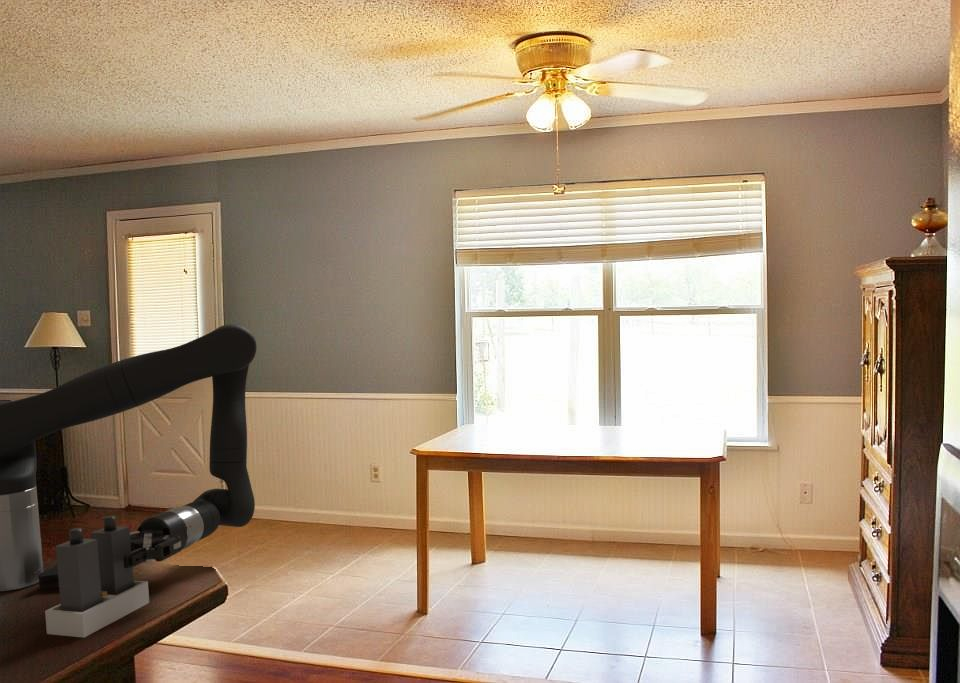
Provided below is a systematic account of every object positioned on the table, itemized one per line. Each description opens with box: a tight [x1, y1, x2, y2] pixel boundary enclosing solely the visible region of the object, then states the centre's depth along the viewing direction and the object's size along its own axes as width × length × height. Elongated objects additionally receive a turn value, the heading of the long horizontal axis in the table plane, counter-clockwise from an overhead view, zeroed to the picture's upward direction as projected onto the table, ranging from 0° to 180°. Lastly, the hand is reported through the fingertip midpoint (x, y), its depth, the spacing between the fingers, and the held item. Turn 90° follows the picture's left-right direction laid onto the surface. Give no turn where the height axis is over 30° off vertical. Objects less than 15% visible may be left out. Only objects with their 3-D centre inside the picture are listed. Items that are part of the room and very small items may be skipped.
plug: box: [90, 515, 135, 595], centre depth 132 cm, size 4×4×15 cm
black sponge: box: [38, 564, 59, 591], centre depth 152 cm, size 16×8×4 cm, turn 175°
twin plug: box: [55, 527, 102, 612], centre depth 125 cm, size 4×4×15 cm
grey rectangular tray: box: [44, 579, 150, 639], centre depth 129 cm, size 14×7×5 cm, turn 162°
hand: (103, 560), depth 130 cm, fingers open, 8 cm apart
